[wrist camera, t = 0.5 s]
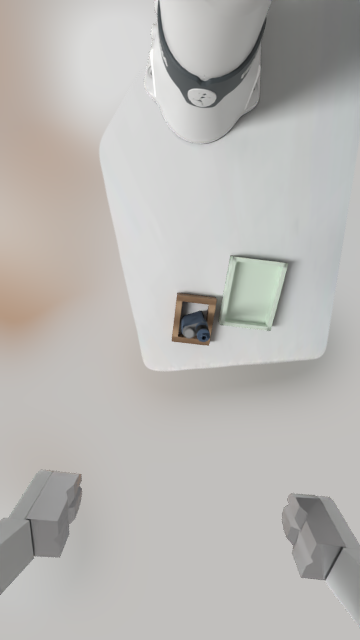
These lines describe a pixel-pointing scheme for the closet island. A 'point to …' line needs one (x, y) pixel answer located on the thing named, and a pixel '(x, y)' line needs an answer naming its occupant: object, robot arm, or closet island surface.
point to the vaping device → (195, 326)
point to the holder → (180, 298)
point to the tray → (251, 293)
